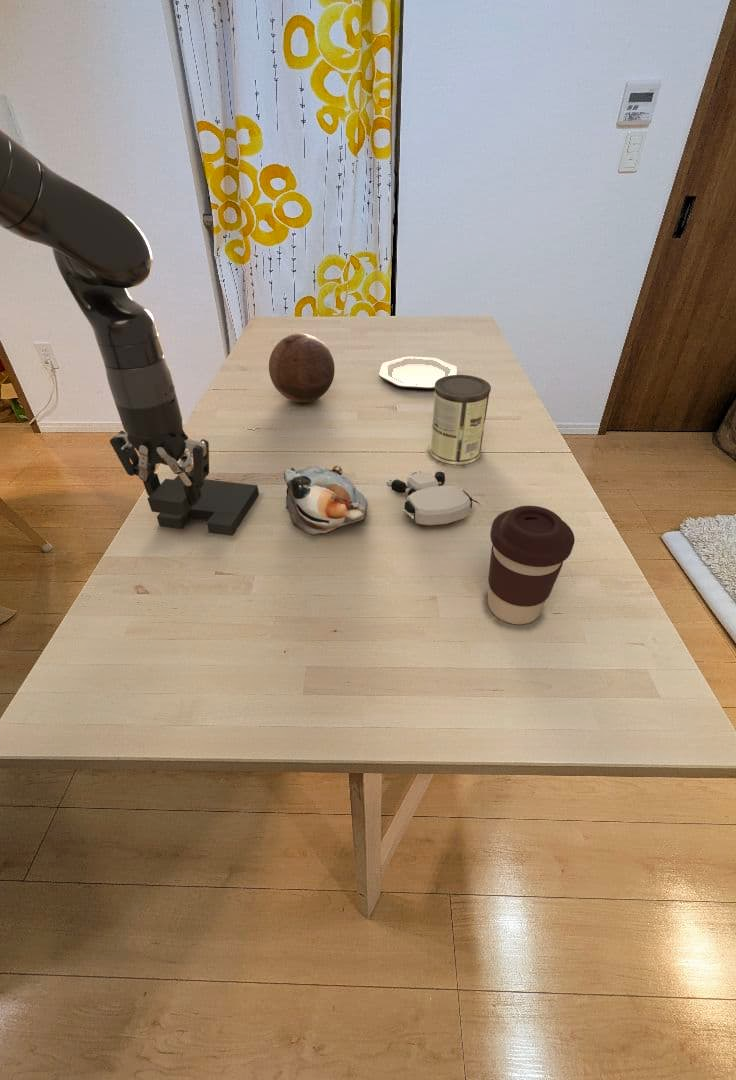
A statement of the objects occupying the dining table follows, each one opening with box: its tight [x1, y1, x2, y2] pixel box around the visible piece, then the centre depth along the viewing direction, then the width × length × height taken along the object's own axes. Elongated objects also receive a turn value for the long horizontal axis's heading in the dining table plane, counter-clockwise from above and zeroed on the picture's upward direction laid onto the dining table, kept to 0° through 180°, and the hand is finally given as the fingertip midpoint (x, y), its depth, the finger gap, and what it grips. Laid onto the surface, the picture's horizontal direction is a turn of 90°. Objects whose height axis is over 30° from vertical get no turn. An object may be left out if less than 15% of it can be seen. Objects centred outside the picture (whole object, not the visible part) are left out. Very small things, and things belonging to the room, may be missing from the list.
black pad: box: [147, 471, 204, 516], centre depth 78 cm, size 5×8×2 cm, turn 169°
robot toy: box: [385, 470, 483, 526], centre depth 89 cm, size 12×4×15 cm
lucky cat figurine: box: [282, 465, 368, 536], centre depth 83 cm, size 15×12×14 cm
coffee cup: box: [487, 505, 576, 625], centre depth 67 cm, size 10×10×15 cm
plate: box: [378, 356, 458, 390], centre depth 134 cm, size 20×20×2 cm
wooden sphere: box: [268, 333, 336, 403], centre depth 119 cm, size 15×15×15 cm
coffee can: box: [429, 374, 492, 466], centre depth 100 cm, size 10×10×14 cm
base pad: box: [156, 478, 260, 536], centre depth 89 cm, size 13×12×2 cm
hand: (176, 499), depth 78 cm, fingers closed on black pad, 5 cm apart
